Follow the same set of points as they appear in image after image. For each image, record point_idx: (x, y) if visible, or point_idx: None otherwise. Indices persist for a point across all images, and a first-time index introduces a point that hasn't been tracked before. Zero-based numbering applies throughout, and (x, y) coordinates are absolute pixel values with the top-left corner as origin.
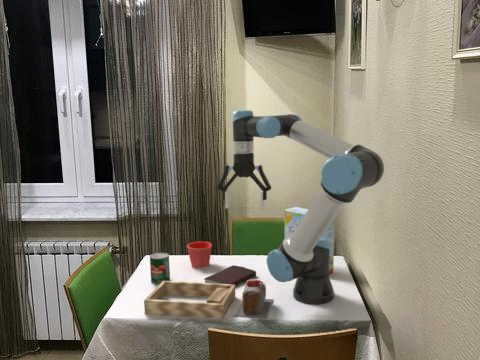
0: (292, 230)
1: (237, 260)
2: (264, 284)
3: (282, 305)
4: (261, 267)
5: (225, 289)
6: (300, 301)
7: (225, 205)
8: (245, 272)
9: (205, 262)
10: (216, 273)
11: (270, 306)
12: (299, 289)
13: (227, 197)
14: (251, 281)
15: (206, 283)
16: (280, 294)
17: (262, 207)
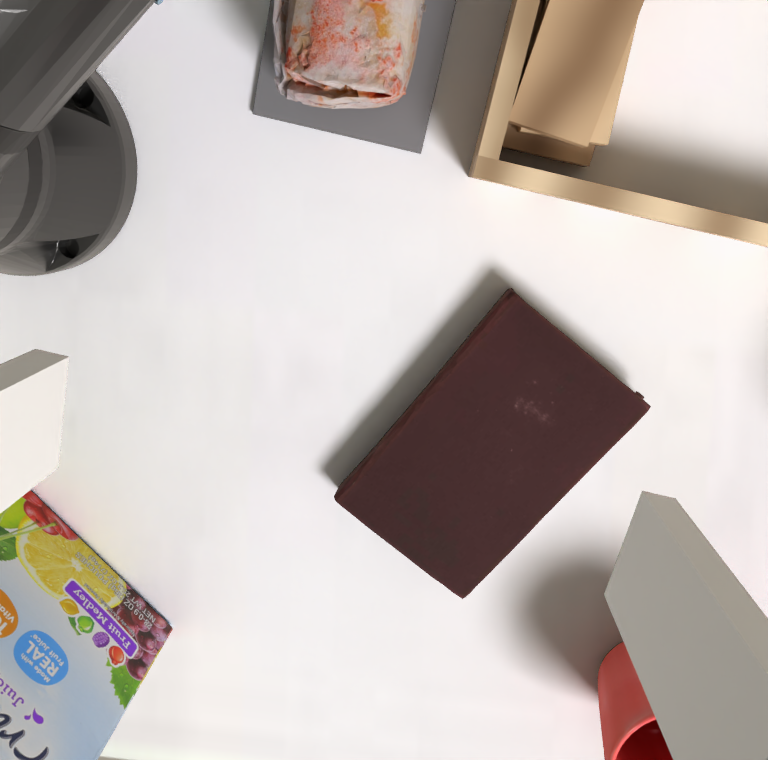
0: (7, 745)
1: (432, 728)
2: (278, 43)
3: (202, 30)
4: (303, 612)
5: (538, 110)
6: (98, 75)
7: (692, 525)
8: (395, 478)
9: (627, 658)
10: (570, 479)
11: (270, 9)
12: (75, 108)
13: (704, 632)
14: None
15: (660, 212)
16: (209, 201)
17: (24, 359)
